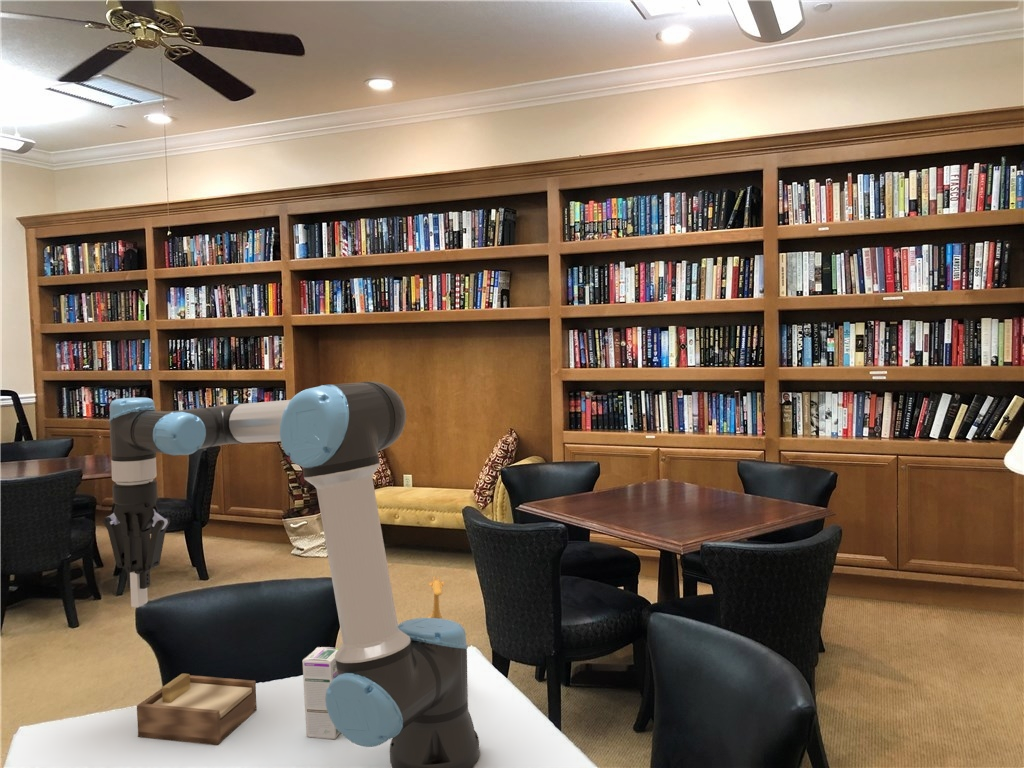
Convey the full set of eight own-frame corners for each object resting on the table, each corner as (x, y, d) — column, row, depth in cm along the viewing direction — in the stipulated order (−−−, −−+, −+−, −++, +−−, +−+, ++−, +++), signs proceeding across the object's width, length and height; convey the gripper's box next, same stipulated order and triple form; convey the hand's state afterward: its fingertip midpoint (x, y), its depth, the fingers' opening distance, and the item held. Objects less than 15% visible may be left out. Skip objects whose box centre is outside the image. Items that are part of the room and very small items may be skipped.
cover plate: (148, 711, 141) (147, 692, 141) (183, 686, 152) (182, 668, 151) (220, 718, 138) (219, 698, 138) (252, 691, 148) (251, 673, 148)
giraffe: (452, 709, 149) (449, 581, 147) (429, 712, 148) (426, 583, 146) (444, 673, 165) (441, 557, 163) (423, 675, 164) (420, 558, 162)
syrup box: (335, 740, 138) (332, 660, 137) (304, 737, 139) (301, 658, 138) (348, 724, 144) (346, 647, 143) (319, 721, 145) (316, 645, 144)
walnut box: (138, 736, 141) (136, 705, 140) (183, 703, 153) (181, 674, 153) (217, 745, 137) (216, 713, 137) (256, 709, 150) (255, 680, 150)
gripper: (178, 478, 147) (182, 600, 149) (118, 475, 150) (123, 595, 152) (152, 486, 140) (156, 614, 141) (89, 483, 143) (95, 609, 144)
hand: (139, 604), depth 147 cm, fingers closed
